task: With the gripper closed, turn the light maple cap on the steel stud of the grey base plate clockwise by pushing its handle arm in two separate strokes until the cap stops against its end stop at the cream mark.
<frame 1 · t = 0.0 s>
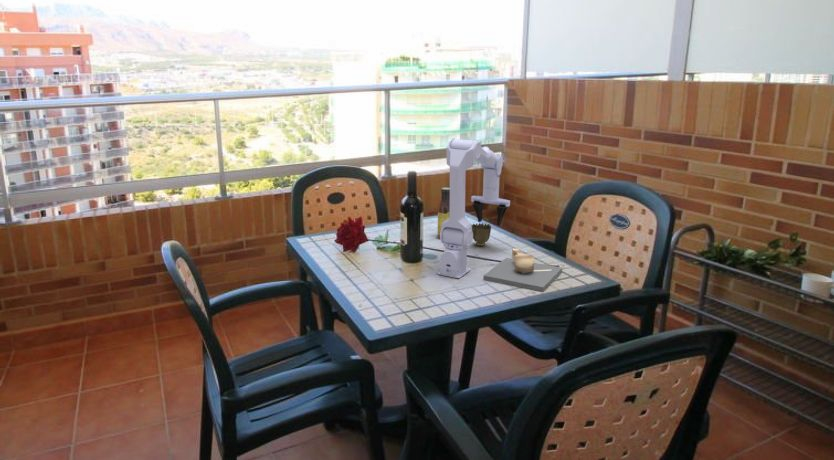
hand: (489, 222, 226), 10 cm above the table, tool pointing down, fingers open, 7 cm apart
base plate: (523, 275, 202), on the table
cup: (480, 246, 233), on the table
sauce bottle: (445, 238, 242), on the table
maple cap: (520, 259, 204), point 5 cm above the table, hinge at 0.0°
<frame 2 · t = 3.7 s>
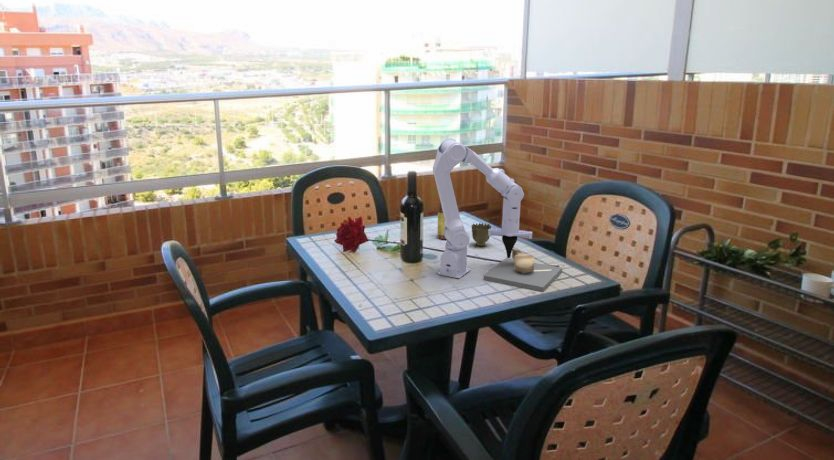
hand: (508, 256, 209), 4 cm above the table, tool pointing down, fingers closed
maple cap: (520, 259, 204), point 5 cm above the table, hinge at 0.0°, touching gripper
everything else where it was.
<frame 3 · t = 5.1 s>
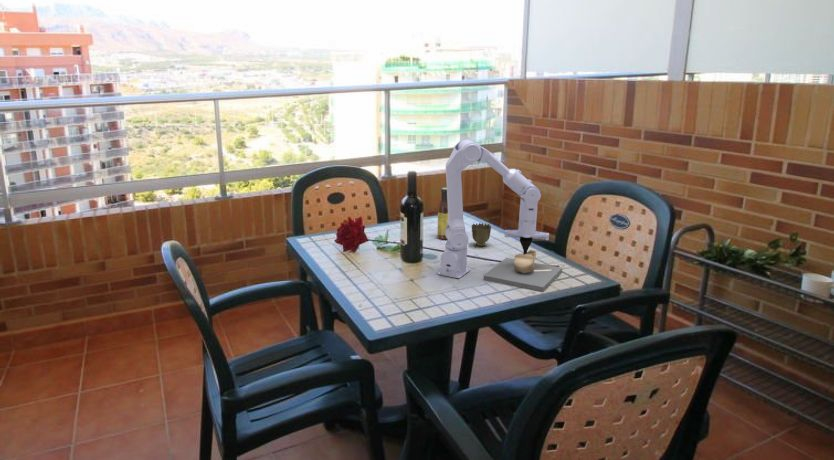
hand: (525, 258, 208), 4 cm above the table, tool pointing down, fingers closed, pressing on maple cap
maple cap: (527, 260, 204), point 5 cm above the table, hinge at 39.2°, touching gripper
everything else where it was.
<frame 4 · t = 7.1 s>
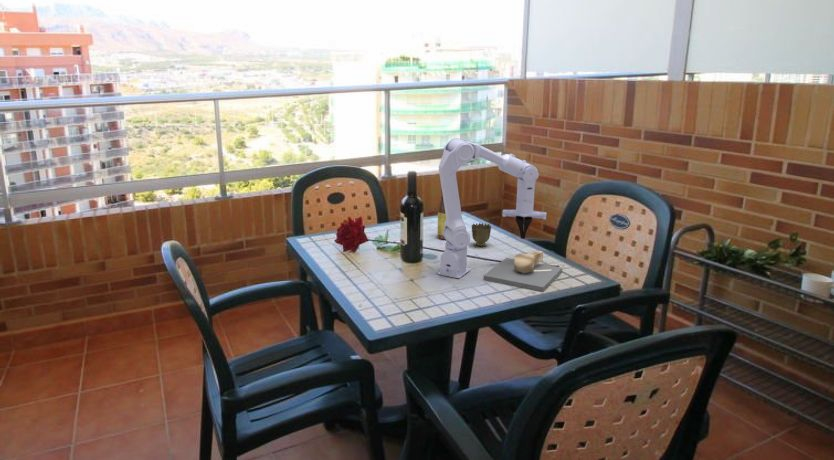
hand: (522, 237, 209), 10 cm above the table, tool pointing down, fingers closed
maple cap: (529, 260, 203), point 5 cm above the table, hinge at 55.3°
everything else where it was.
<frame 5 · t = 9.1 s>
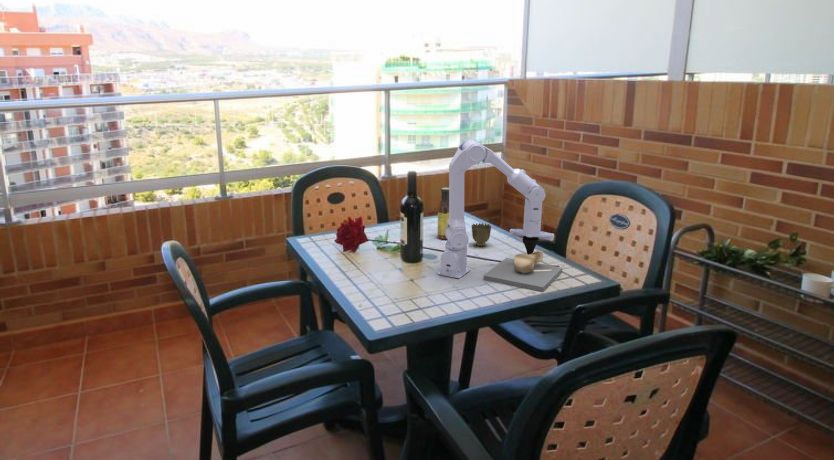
hand: (530, 257, 208), 4 cm above the table, tool pointing down, fingers closed
maple cap: (529, 260, 203), point 5 cm above the table, hinge at 55.3°, touching gripper
everything else where it was.
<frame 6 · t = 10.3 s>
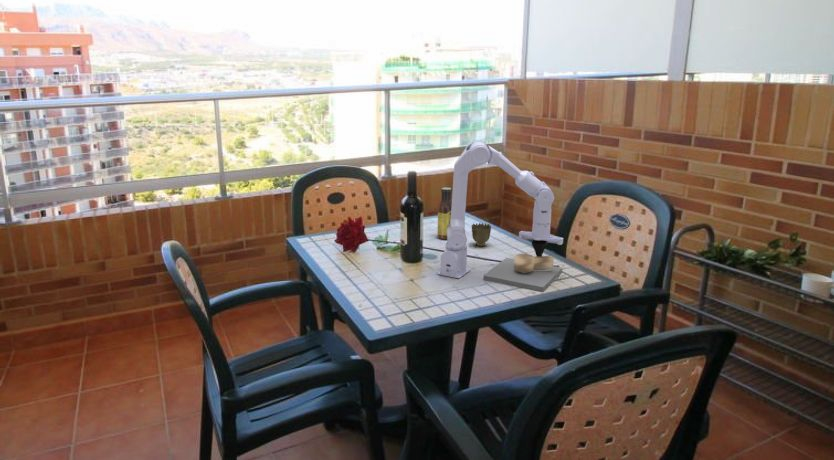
hand: (539, 261, 204), 4 cm above the table, tool pointing down, fingers closed, pressing on maple cap
maple cap: (533, 262, 202), point 5 cm above the table, hinge at 94.5°, touching gripper
everything else where it was.
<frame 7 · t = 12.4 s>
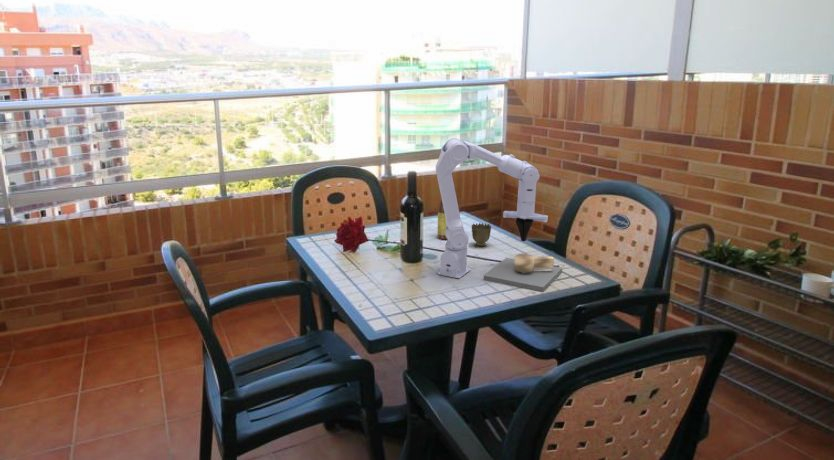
hand: (523, 240, 206), 10 cm above the table, tool pointing down, fingers closed
maple cap: (533, 262, 201), point 5 cm above the table, hinge at 98.1°
everything else where it was.
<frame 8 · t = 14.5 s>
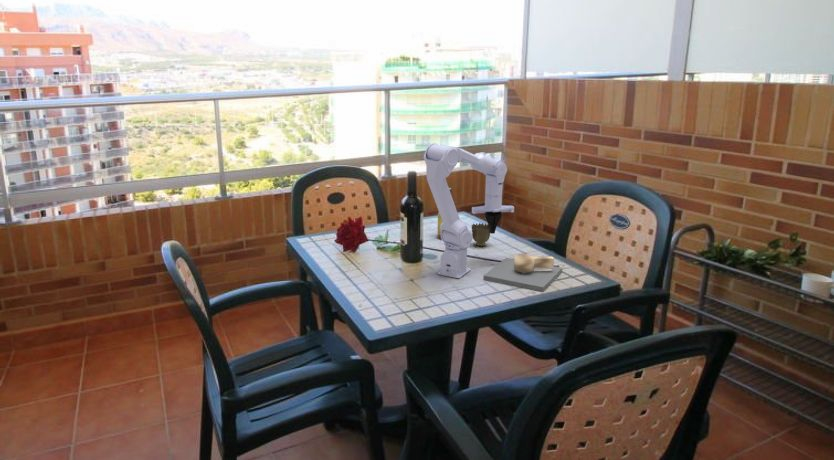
hand: (492, 232, 213), 10 cm above the table, tool pointing down, fingers closed
nothing on the table moved.
at the end: maple cap at +98° (first picture: +0°) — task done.
